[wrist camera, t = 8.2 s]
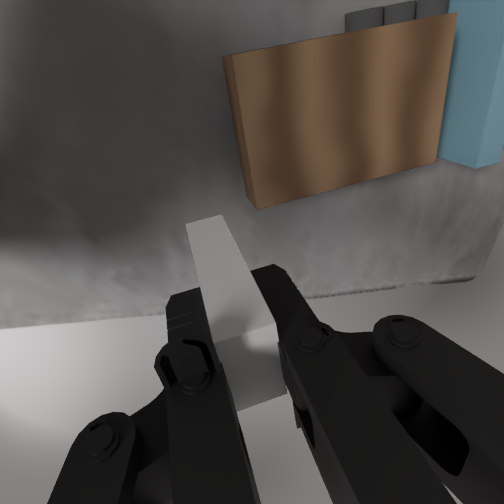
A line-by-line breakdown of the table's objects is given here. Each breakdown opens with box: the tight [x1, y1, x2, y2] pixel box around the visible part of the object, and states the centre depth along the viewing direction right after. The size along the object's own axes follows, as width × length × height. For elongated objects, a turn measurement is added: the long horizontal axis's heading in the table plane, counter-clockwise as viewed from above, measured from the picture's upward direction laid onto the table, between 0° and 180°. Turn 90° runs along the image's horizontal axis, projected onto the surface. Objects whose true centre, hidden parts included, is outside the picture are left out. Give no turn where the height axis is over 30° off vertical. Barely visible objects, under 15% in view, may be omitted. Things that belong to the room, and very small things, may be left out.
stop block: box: [436, 0, 504, 169], centre depth 35 cm, size 3×16×9 cm, turn 9°
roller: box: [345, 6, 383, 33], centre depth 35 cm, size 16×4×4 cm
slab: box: [222, 12, 458, 210], centre depth 31 cm, size 20×13×4 cm, turn 99°
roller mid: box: [383, 0, 416, 26], centre depth 36 cm, size 16×4×4 cm
